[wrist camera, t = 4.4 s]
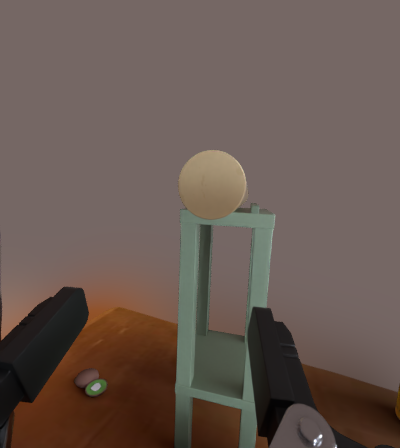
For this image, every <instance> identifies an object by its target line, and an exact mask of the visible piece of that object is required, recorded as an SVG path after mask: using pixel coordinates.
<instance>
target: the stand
mask: <svg viewBox="0 0 400 448" xmlns="http://www.w3.org/2000/svg"><path fill="white" fill-rule="evenodd" d="M180 223H181V238H180V239H181V240H180V271H179V306H178V339H177V373H176V383H175V393H176V407H175V441H174V448H191V432H192V408H193V397H194V398H198V399H202V400H206V401H210V402H214V403H218V404H222V405H226V406H230V407H234V408H239V409H241V419H240V433H239V447H238V448H255V439H256V427H257V419H256V411H255V402H254V394H253V385H252V377H251V368H250V360H249V351H248V340H247V336H248V327H249V322H250V317H251V312H252V308H253V306H254V307H264V308H266V305H267V293H268V280H269V269H270V257H271V244H272V233H273V229H274V223H275V214H273V213H272V212H270V211H268V210H267V209H259V205H257V204H256V203H251V208H237V209H236V210H235V211H234V212H232V213H231V214H229V215H228V216H226V217H224V218H220V219H215V220H207V219H202V218H200V217H197V216H195V215H194V214H192V213H191V212H190V211H189V210H188V209H187V208H186V209H180ZM213 225H220V226H235V227H250V228H252V241H251V256H250V269H249V284H248V297H247V312H246V326H245V336H241V335H234V334H229V333H224V332H218V331H212V330H208V325H209V304H210V284H211V263H212V242H213ZM199 234H200V246H199ZM198 259H199V271H198ZM197 284H198V295H197ZM196 309H197V320H196ZM195 333H196V334H195Z"/></svg>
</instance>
